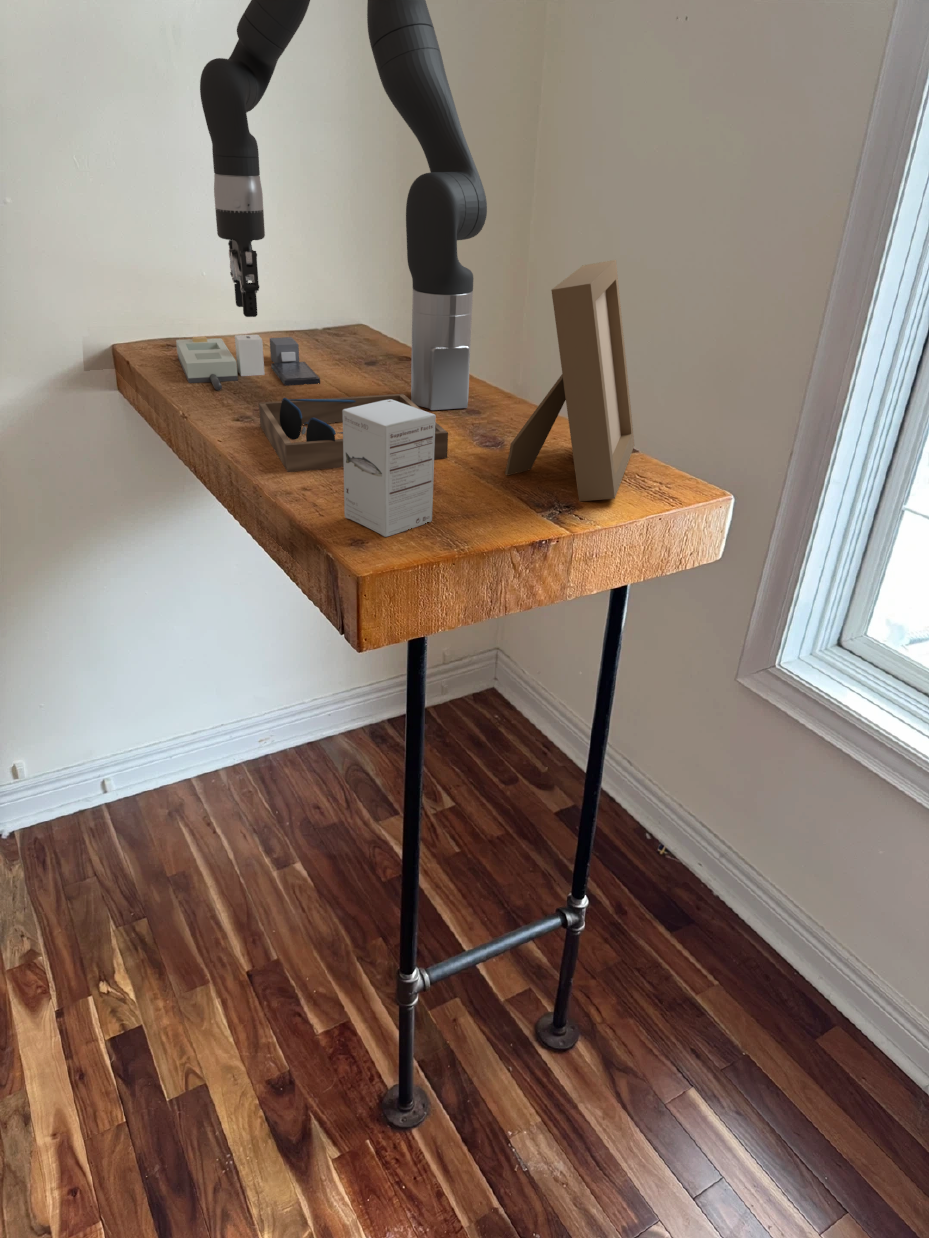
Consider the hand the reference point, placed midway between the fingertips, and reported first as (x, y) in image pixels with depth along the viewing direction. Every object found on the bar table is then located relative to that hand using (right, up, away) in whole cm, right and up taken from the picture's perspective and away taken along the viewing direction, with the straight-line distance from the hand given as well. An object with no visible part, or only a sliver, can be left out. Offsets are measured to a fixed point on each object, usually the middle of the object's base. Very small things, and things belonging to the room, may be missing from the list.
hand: (246, 311), depth 150 cm
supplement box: (+28, -41, -49) cm, 70 cm away
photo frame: (+51, -32, -32) cm, 68 cm away
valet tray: (+21, -27, -26) cm, 43 cm away
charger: (0, -9, +5) cm, 10 cm away
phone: (+7, -10, +4) cm, 13 cm away
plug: (+4, -5, +12) cm, 14 cm away
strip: (-7, -10, +3) cm, 12 cm away
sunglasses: (+21, -27, -26) cm, 43 cm away
